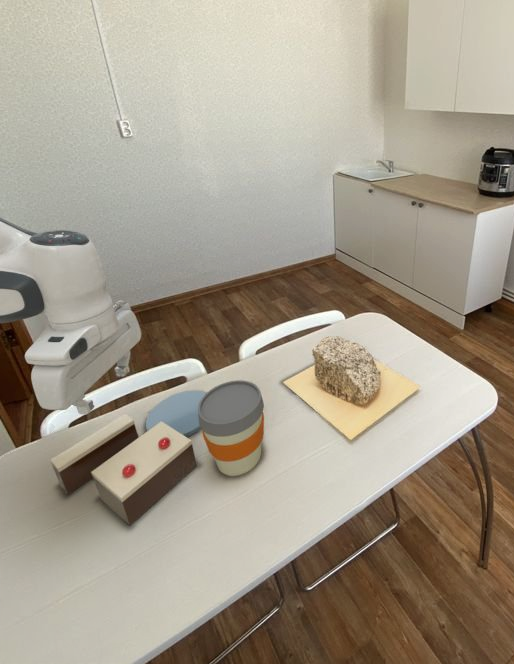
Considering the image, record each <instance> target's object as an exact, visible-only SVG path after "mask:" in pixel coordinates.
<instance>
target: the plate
mask: <svg viewBox="0 0 514 664" xmlns="http://www.w3.org/2000/svg"><path fill="white" fill-rule="evenodd" d="M206 393H207V392H204V391H201V390H186V391H185V390H184V391H180V392H179V393H178V392H177V393H175V394H173V395H169V396H168V397H166V398H164V399H163V400H161V401H160V402H159V403H157V404H156V405H155V406H154V407H153V408H151V410H150V411H149V413H148V415H147V417H146V420H145V429H146V432H147V431H149V430H150V429H151V428H153V427H154V426H156V425H157V424H158V423H160V422H161V421H162V422H163V423H165V424H166V425H168V426H170V427H171V428H173V429H174V430H176V431H177V432H179V433H181V434H182V435H184V436H185V437H187V438H188V437H191V436H193V435H194V434H196V433H198V432H199V431H201V430H202V429H201V428H200V426H199V420H198V405H199V402H200V401H201V399H202V397H203V396H204V395H205V394H206Z"/></svg>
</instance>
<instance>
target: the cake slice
mask: <svg viewBox="0 0 514 664" xmlns="http://www.w3.org/2000/svg"><path fill="white" fill-rule="evenodd" d="M139 437H140V436H139V434H138V431H137V427H136V424H135V420H134V419H133V418H131V417H130V416H129V415H128V414H127V413H123V414H122V415H121V416H119V417H117V418H116V419H114V420H113V421H111V422H110V423H108V424H106V425H104V426H103V427H101V428H100V429H98V430H96V431H95V432H93V433H91V434H90V435H88V436H87V437H85V438H83V439H82V440H80V441H79V442H76V443H75V444H73V445H72V446H70V447H68V448H67V449H65V450H64V451H62V452H60V453H59V454H57V455H56V456H54V457H52V458H51V459H50V463H51V466H52V468H53V471H54V473H55V476H56V478H57V480H58V483H59V486H60V488H61V489H62V490H63V491H64V492H65V494H66V495H67V496H69V495H70V494H72V493H73V492H75V491H76V490H78V489H79V488H81V487H82V486H83V485H85V484H86V483H87V482H89V481H91V480H92V479H93V476H92V473H91V472H92V471H93V470H95V469H96V468H97V467H99V466H100V465H102V464H103V463H104V462H106V461H107V460H109V459H110V458H111V457H113V456H114V455H115V454H117V453H118V452H120V451H121V450H122V449H124V448H125V447H126V446H128V445H129V444H131V443H132V442H133V441H135V440H136V439H138V438H139Z"/></svg>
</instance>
